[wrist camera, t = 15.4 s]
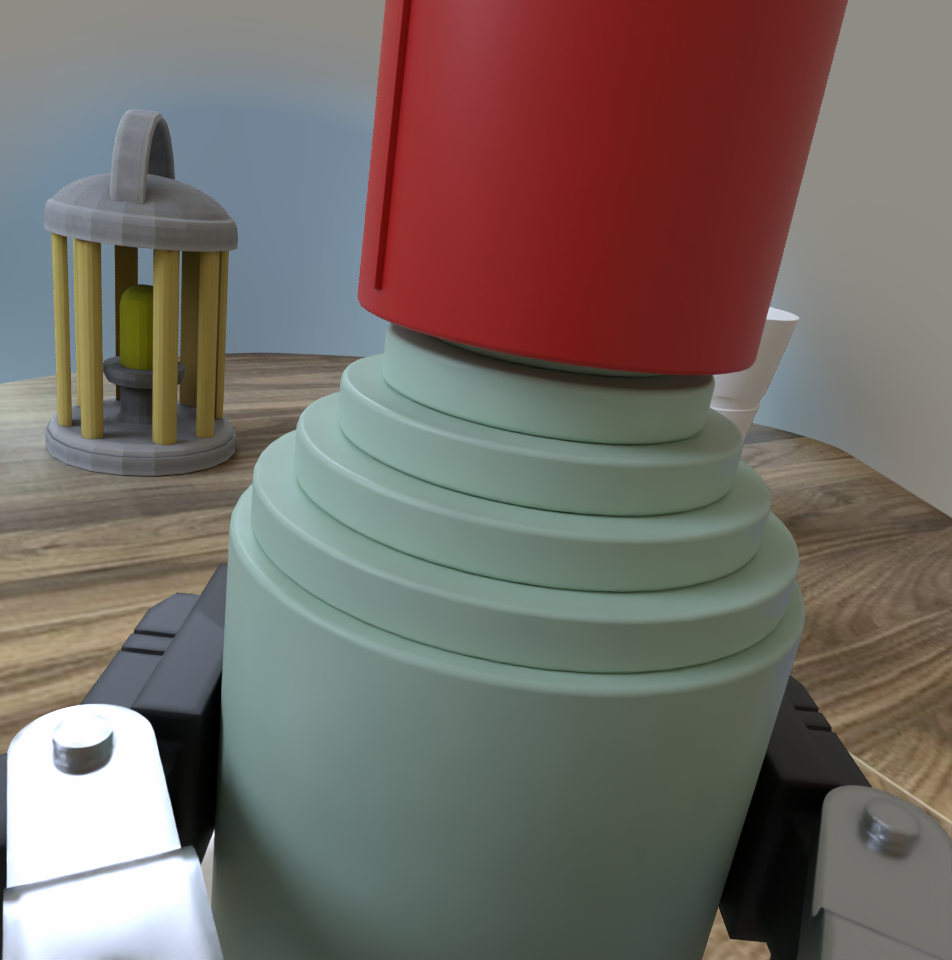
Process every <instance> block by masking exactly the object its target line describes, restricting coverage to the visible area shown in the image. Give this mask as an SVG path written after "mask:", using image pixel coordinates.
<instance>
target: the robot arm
mask: <svg viewBox="0 0 952 960" xmlns="http://www.w3.org/2000/svg"><path fill="white" fill-rule="evenodd" d="M227 568H228V564H220V565H219V566H218V568H217V569H216V571H215V573H214V574H213V576H212V577H211V579H210V581H209V582H208V584H207V585H206V587H205V589H204V590H203V592H202V593H201V595H194V594H185V593H176V594H174V595H172V596H170V597H169V598H167V599H165V600H164V601H162V602H160V603H158V604H157V605H155V606H153V607H151V608H150V609H149V610H148V611H147V613H146V614H145V615H144V617H143V618H142V620H141V621H140V622H139V624H138V625H137V626H136V628H135V629H134V634H132V633H131V635H130V636H129V637H128V639H127V640H126V642H125V643H124V644H123V646H122V649H121V651H118V653H117V654H116V655H115V657H114V658H113V660H112V661H111V662H110V664H109V665H108V666H107V668H106V669H105V671H104V672H103V673H102V675H101V676H100V678H99V679H98V680H97V682H96V683H95V684H94V686H93V687H92V689H91V690H90V691H89V693H88V694H87V695H86V697H85V698H84V700H83V701H82V702H81V704H80V705H78V706H73V707H68V708H64V709H61V710H57V711H54V712H52V713H49V714H47V715H44V716H42V717H40V718H38V719H36V720H35V721H33V722H32V723H30V724H29V725H27V726H26V727H24V728H23V729H22V730H21V731H20V732H19V733H18V734H17V735H16V737H15V738H14V739H13V741H12V742H11V745H10V747H9V749H8V753H6V754H2V755H0V960H224V958H223V954H222V950H221V946H220V942H219V938H218V934H217V930H216V926H215V923H214V919H213V915H212V911H211V907H210V903H209V899H208V895H207V891H206V887H205V883H204V879H203V875H202V871H201V864H202V861H203V859H204V856H205V853H206V851H207V848H208V845H209V843H210V840H211V837H212V835H213V832H214V829H215V811H216V791H217V771H218V751H219V730H220V710H221V690H222V669H223V649H224V629H225V608H226V588H227ZM818 709H819V708H818V707H817V705H816V704H815V702H814V701H813V700H812V698H811V697H810V695H809V694H808V692H807V691H806V689H805V688H804V686H803V685H802V684H801V683H799V682H798V681H797V680H796V679H794V678H793V677H792V676H791V675H790V676H789V679H788V682H787V685H786V689H785V692H784V695H783V698H782V702H781V705H780V708H779V711H778V715H777V718H776V721H775V724H774V728H773V731H772V734H771V737H770V741H769V744H768V747H767V750H766V754H765V757H764V760H763V763H762V767H761V770H760V773H759V776H758V779H757V783H756V786H755V789H754V792H753V796H752V799H751V802H750V805H749V809H748V812H747V815H746V818H745V822H744V825H743V828H742V831H741V835H740V838H739V841H738V844H737V848H736V851H735V854H734V857H733V860H732V864H731V867H730V870H729V873H728V877H727V880H726V883H725V886H724V890H723V893H722V896H721V899H720V903H719V909H720V912H721V915H722V918H723V920H724V923H725V926H726V929H727V932H728V934H729V937H730V939H737V940H747V941H758V942H766V943H767V946H768V948H769V950H770V953H771V956H770V959H769V960H952V839H951V838H950V836H949V835H948V834H947V832H946V831H945V830H944V829H943V828H942V827H941V826H940V825H939V824H938V823H937V822H936V821H935V820H934V819H933V818H932V817H930V816H929V815H928V814H926V813H925V812H924V811H922V810H921V809H920V808H918V807H916V806H915V805H913V804H911V803H910V802H908V801H906V800H904V799H902V798H900V797H898V796H895V795H893V794H890V793H888V792H885V791H882V790H879V789H875V788H872V786H871V785H870V783H869V782H868V780H867V779H866V777H865V776H864V775H863V773H862V772H861V770H860V769H859V767H858V766H857V764H856V763H855V761H854V760H853V758H852V757H851V755H850V754H849V752H848V751H847V750H846V748H845V747H844V745H843V744H842V742H841V741H840V739H839V738H838V736H837V735H836V733H834V732H831V728H832V727H831V726H830V725H829V723H828V722H827V720H826V719H825V717H824V716H823V714H822V713H818Z"/></svg>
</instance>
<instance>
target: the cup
mask: <svg viewBox="0 0 952 960" xmlns="http://www.w3.org/2000/svg"><path fill="white" fill-rule="evenodd" d="M798 320H799V317H798V316H796V315H794V314H791V313H789V312H786V311H783V310H779V309H775V308H772V307H769V310H768V314H767V318H766V322H765V326H764V330H763V334H762V338H761V342H760V346H759V349H758V353H757V357H756V361H755V362H754V364H753V365H752V366H751V367H750V368H749V369H746V370H743V371H739V372H734V373H728V374H718V375H713V376H714V378H715V387H714V391H713V395H712V399H711V403H710V408H712V409H714V410H715V411H717V412H719V413H721V414H722V415H724V416H725V417H727V418H728V419H729V420H731V421H732V422H733V423H734V424H735V425H736V426H737V427H738V428H739V430H740V432H741V434H742V436H743V441H744V439H745V437H746V435H747V433H748V430H749V428H750V426H751V424H752V422H753V419H754V417H755V415H756V413H757V411H758V409H759V403H760V400H761V398H762V396H764V395H765V394H766V391H767V389H768V387H769V385H770V383H771V380H772V378H773V376H774V374H775V371H776V369H777V367H778V365H779V363H780V360H781V358H782V356H783V354H784V352H785V349H786V347H787V345H788V343H789V340H790V338H791V336H792V334H793V331H794V329H795V327H796V325H797V322H798Z"/></svg>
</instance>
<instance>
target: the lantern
mask: <svg viewBox="0 0 952 960" xmlns="http://www.w3.org/2000/svg"><path fill="white" fill-rule="evenodd" d="M44 228H45V229H47V230H48V231H49V232H52V258H53V259H52V260H53V289H54V317H55V345H56V346H55V347H56V377H57V406H58V413H57V414H56V415H54V417H53V418H52V420H50V422H49V423H48V425H47V427H46V429H45V436H46V447H47V449H48V450H49V452H50V454H51V455H52V456H53V457H55V458H57V459H59V460H60V461H62V462H64V463H66V464H68V465H72V466H75V467H79V468H82V469H86V470H89V471H94V472H102V473H109V474H117V475H133V476H160V475H172V474H184V473H189V472H194V471H199V470H203V469H208V468H211V467H213V466H216V465H218V464H220V463H223V462H225V461H227V460H228V459H229V458H230V457H231V456H232V455H233V454H234V453H235V442H236V435H235V428H234V427H233V426H232V424H231V423H230V422H229V421H228V420H227V419H226V418H225V417H224V416H223V399H224V371H225V342H226V314H227V313H226V312H227V286H228V284H227V283H228V257H229V251H230V250H234V249H237V244H238V234H237V227H236V224H235V222H234V220H233V219H232V218H231V217H230V216H229V215H228V213H227V212H226V211H225V209H224V208H223V207H222V206H221V205H220V204H219V203H217V202H216V201H215V200H214V199H212V198H211V197H210V196H208V195H207V194H205V193H203V192H202V191H200V190H198V189H196V188H194V187H191V186H190V185H187V184H184V183H182V182H179V181H176V180H175V175H174V159H173V152H172V144H171V137H170V133H169V129H168V125H167V123H166V121H165V120H164V118H163V117H162V115H161V114H159V113H157V112H153V111H146V110H140V109H130V110H128V111H127V112H126V113H124V115H123V116H122V118H121V122H120V124H119V127H118V129H117V133H116V139H115V144H114V150H113V156H112V166H111V173H105V174H99V175H94V176H90V177H86V178H84V179H81V180H78V181H75V182H73V183H71V184H69V185H67V186H65V187H64V188H63V189H61V190H60V191H59V192H57V193H56V195H55V196H54V197H53V198H51V199H49V200H47V203H46V205H45V209H44ZM67 237H71V238H73V252H74V253H73V254H74V289H75V290H74V293H75V330H76V331H75V332H76V371H77V405H73V406H72V403H71V368H70V332H69V297H68V264H67V263H68V261H67ZM101 243H107V244H113V245H115V335H116V336H115V339H116V357H113V358H109V359H107V360H105V361H104V363H103V358H102V297H101V296H102V291H101ZM138 247H139V248H148V249H154V253H153V254H154V255H153V256H154V257H153V258H154V260H153V263H154V264H153V268H154V269H153V286H150V285H138ZM180 251H182V290H181V293H182V294H181V348H180V362H178V317H179V314H178V313H179V255H180ZM103 372H104V374H105V376H106V378H107V379H108V381H109V382H111V383H114V384H116V398H111V399H103ZM178 384H180V401H177V385H178Z"/></svg>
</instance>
